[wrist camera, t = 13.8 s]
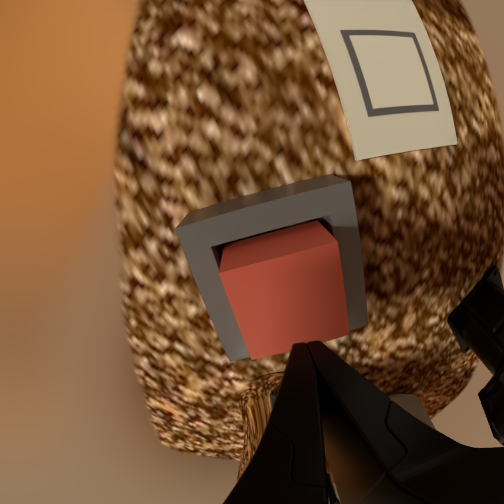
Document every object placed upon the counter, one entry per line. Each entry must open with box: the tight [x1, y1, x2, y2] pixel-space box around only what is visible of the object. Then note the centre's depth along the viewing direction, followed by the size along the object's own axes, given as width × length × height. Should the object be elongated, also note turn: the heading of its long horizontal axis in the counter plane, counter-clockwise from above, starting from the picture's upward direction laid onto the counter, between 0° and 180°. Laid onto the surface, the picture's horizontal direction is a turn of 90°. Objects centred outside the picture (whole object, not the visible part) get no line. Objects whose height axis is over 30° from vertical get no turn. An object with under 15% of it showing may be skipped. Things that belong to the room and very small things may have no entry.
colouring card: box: [304, 0, 457, 160], centre depth 10 cm, size 17×8×1 cm, turn 16°
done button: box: [219, 220, 349, 360], centre depth 12 cm, size 4×4×3 cm
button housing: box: [175, 174, 368, 361], centre depth 14 cm, size 8×8×3 cm
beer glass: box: [235, 373, 341, 504], centre depth 12 cm, size 7×7×15 cm
